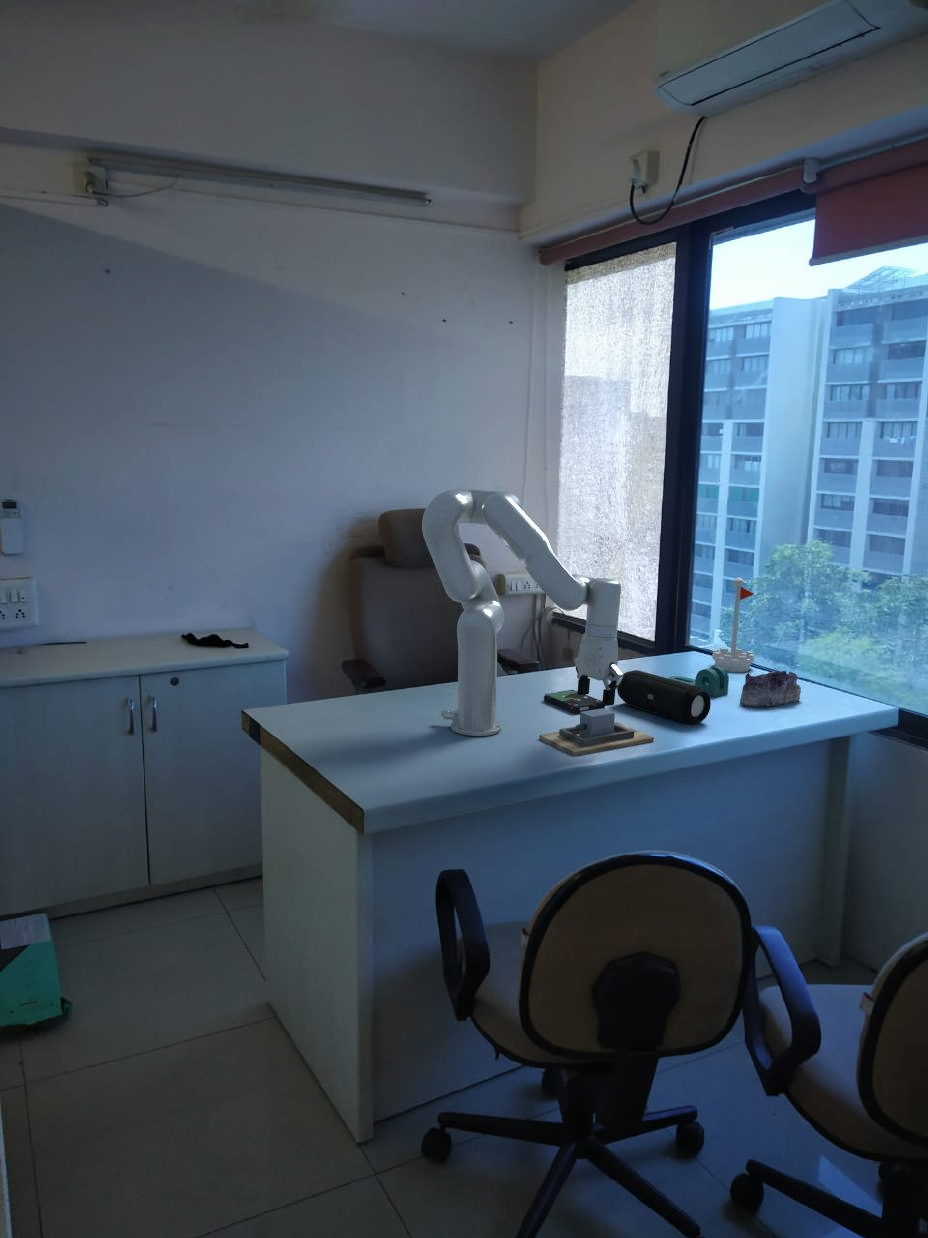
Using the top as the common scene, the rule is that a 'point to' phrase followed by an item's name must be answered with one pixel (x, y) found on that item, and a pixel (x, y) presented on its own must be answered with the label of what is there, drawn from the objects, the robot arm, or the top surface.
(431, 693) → the top surface
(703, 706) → the portable speaker
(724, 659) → the flag stand
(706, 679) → the bracket
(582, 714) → the connector plug
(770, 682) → the geode
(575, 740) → the end holder
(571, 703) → the disk drive
